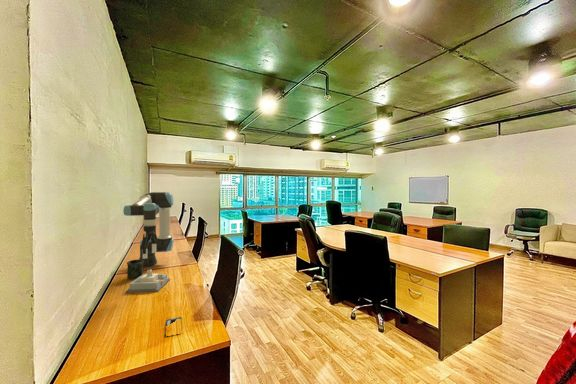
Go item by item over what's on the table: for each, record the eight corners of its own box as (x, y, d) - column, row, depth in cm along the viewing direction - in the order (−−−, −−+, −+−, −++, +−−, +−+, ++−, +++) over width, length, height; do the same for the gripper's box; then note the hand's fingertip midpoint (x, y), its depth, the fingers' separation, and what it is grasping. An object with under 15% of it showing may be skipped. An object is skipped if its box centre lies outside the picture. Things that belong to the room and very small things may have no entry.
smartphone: (164, 337, 107) (165, 319, 121) (164, 339, 107) (165, 321, 121) (182, 333, 110) (181, 316, 124) (182, 335, 110) (181, 318, 124)
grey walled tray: (141, 281, 173) (141, 273, 173) (170, 280, 175) (170, 273, 175) (125, 292, 153) (125, 284, 153) (158, 291, 156) (158, 283, 156)
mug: (144, 273, 188) (144, 258, 188) (141, 280, 175) (141, 263, 175) (128, 275, 184) (128, 260, 184) (124, 282, 171) (124, 265, 170)
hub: (140, 286, 160) (140, 277, 160) (146, 282, 168) (146, 273, 168) (160, 286, 161) (160, 277, 161) (165, 281, 169) (165, 273, 169)
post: (148, 283, 166) (148, 269, 166) (152, 283, 166) (152, 269, 166) (146, 285, 163) (146, 270, 163) (150, 285, 163) (150, 270, 163)
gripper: (152, 222, 178) (152, 250, 178) (134, 228, 153) (134, 261, 153) (162, 222, 179) (162, 250, 179) (146, 228, 154) (146, 260, 154)
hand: (149, 255), depth 166 cm, fingers open, 13 cm apart
